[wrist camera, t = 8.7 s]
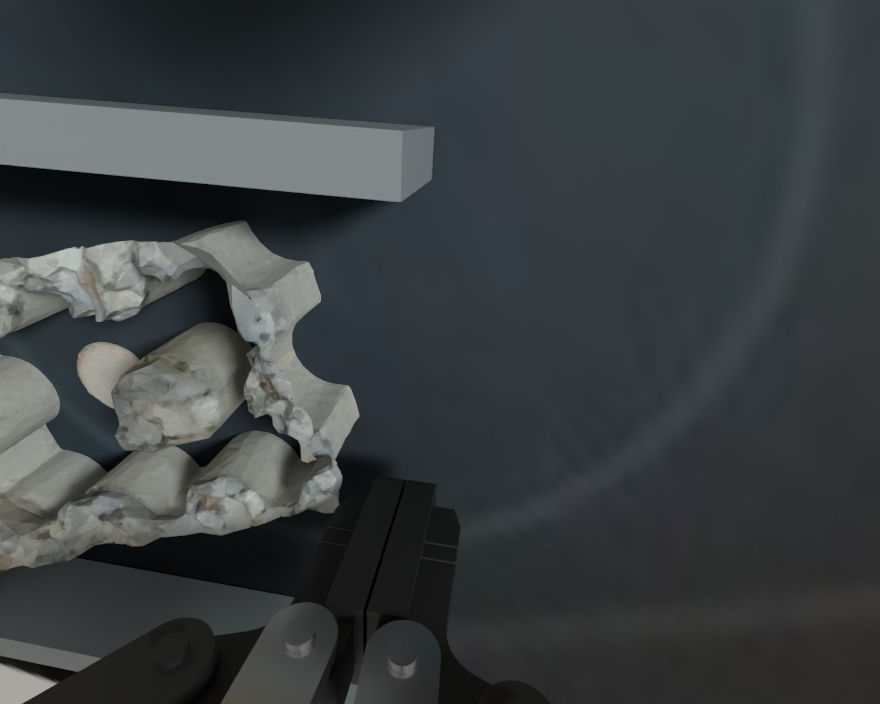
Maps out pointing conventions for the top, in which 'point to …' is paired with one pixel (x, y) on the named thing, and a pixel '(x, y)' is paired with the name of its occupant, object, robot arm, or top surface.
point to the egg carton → (165, 401)
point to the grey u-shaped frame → (198, 161)
